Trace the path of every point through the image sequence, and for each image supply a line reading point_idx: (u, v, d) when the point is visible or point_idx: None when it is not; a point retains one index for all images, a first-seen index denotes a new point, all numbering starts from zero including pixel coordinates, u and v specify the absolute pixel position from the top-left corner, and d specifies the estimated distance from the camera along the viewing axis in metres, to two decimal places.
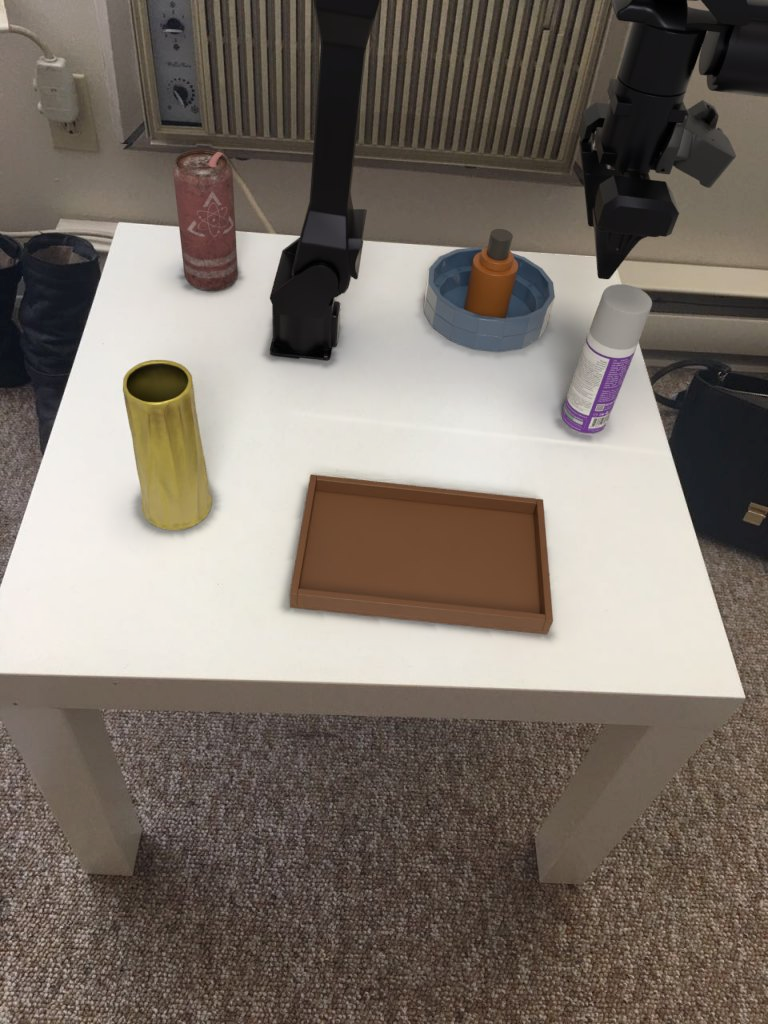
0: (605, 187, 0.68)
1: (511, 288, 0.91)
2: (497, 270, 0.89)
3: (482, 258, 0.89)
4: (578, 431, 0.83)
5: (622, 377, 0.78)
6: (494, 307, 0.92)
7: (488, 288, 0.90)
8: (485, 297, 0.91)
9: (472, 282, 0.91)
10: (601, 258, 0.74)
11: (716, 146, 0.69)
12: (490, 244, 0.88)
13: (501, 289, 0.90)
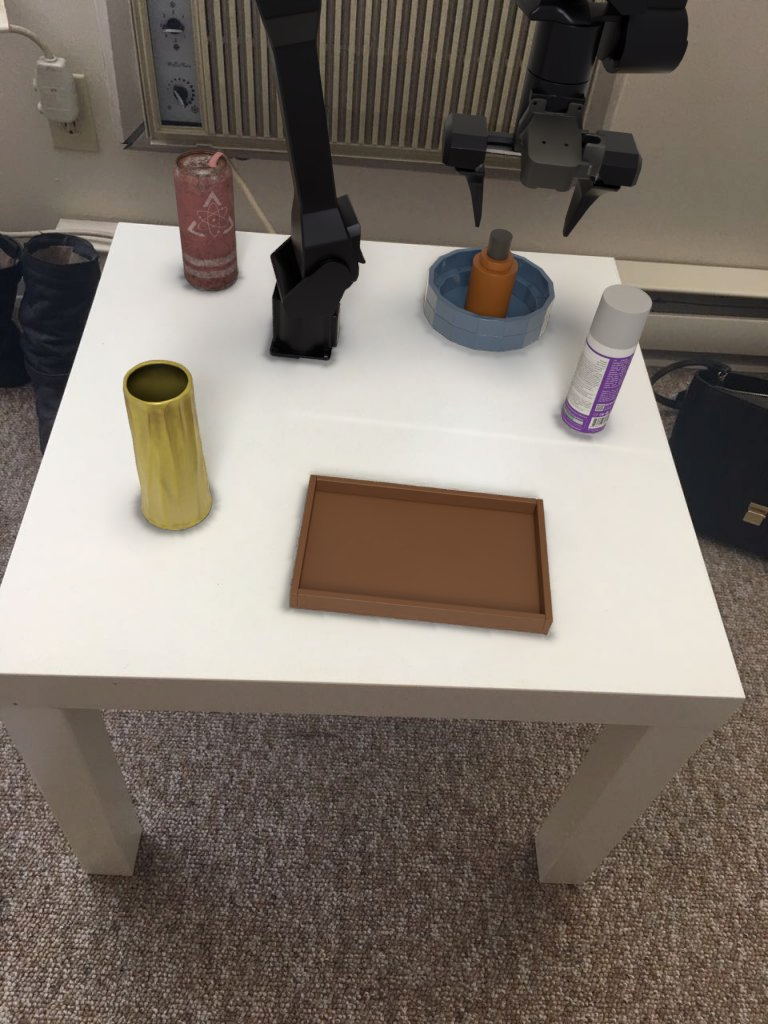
0: None
1: (511, 288, 0.91)
2: (497, 270, 0.89)
3: (482, 258, 0.89)
4: (578, 431, 0.83)
5: (622, 377, 0.78)
6: (494, 307, 0.92)
7: (488, 288, 0.90)
8: (485, 297, 0.91)
9: (472, 282, 0.91)
10: None
11: (531, 141, 0.72)
12: (490, 244, 0.88)
13: (501, 289, 0.90)
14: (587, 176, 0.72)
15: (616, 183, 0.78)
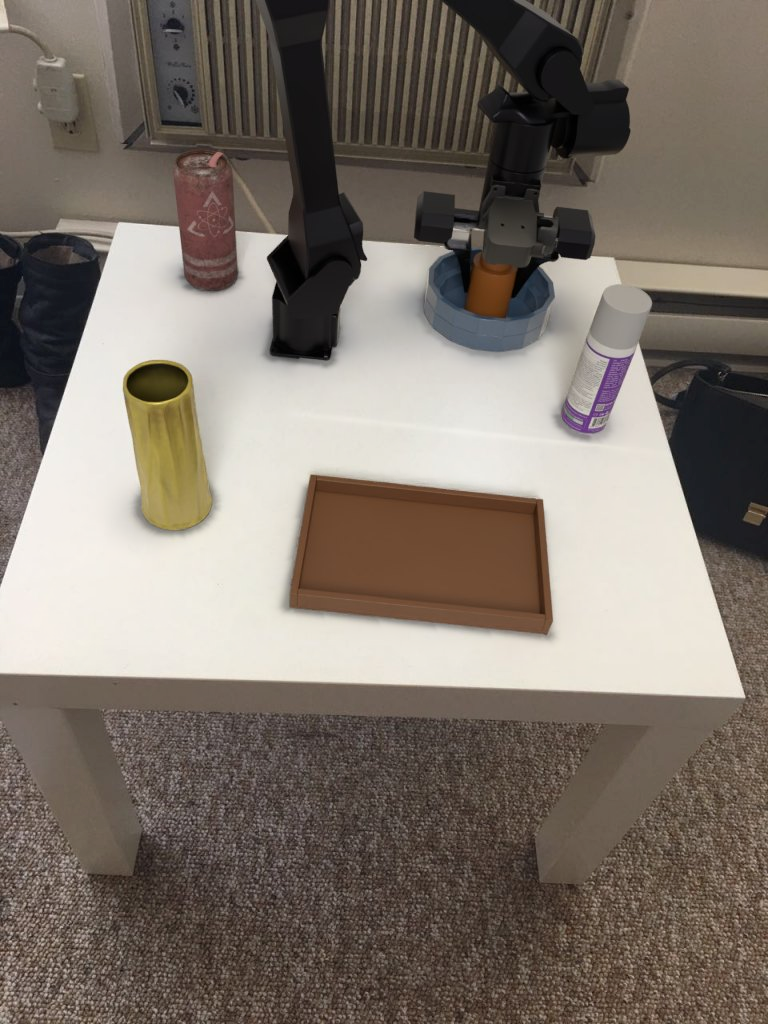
0: None
1: (511, 288, 0.91)
2: (497, 270, 0.89)
3: (482, 258, 0.89)
4: (578, 431, 0.83)
5: (622, 377, 0.78)
6: (495, 307, 0.92)
7: (488, 288, 0.90)
8: (485, 297, 0.91)
9: (472, 282, 0.91)
10: None
11: (491, 224, 0.80)
12: None
13: (501, 289, 0.90)
14: (541, 255, 0.80)
15: (572, 256, 0.86)
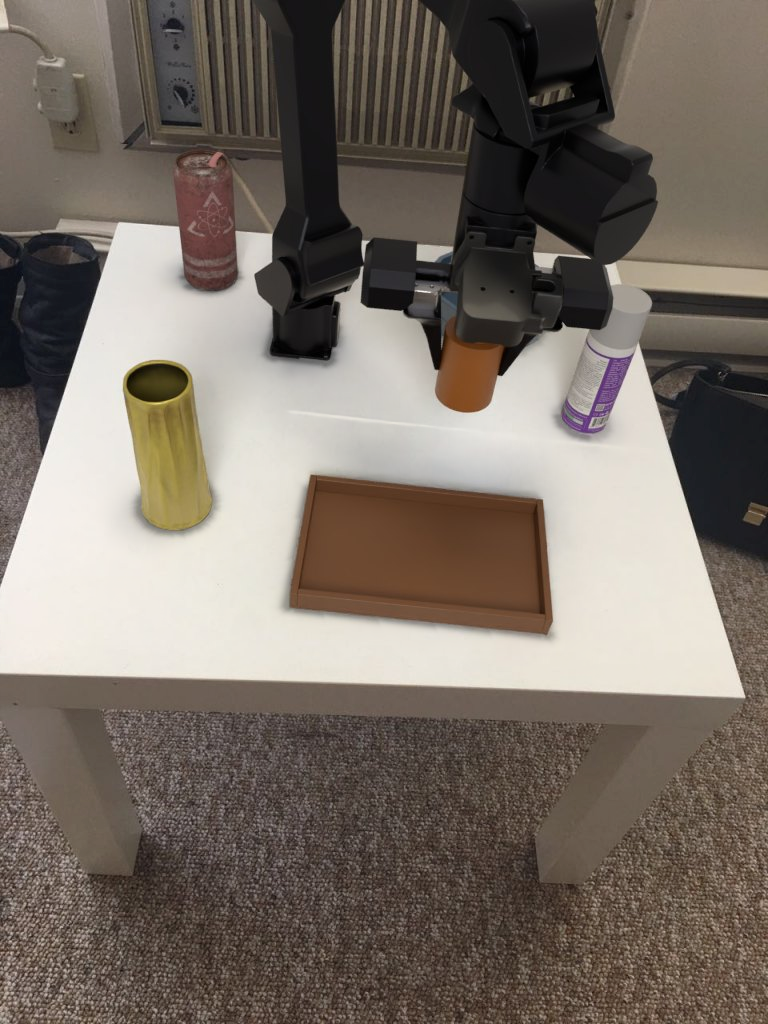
0: None
1: (498, 364, 0.67)
2: (478, 342, 0.65)
3: None
4: (578, 431, 0.83)
5: (622, 377, 0.78)
6: (476, 390, 0.68)
7: (467, 366, 0.66)
8: (462, 378, 0.67)
9: (444, 358, 0.67)
10: None
11: (466, 288, 0.56)
12: None
13: (484, 367, 0.66)
14: (539, 331, 0.56)
15: (581, 326, 0.62)
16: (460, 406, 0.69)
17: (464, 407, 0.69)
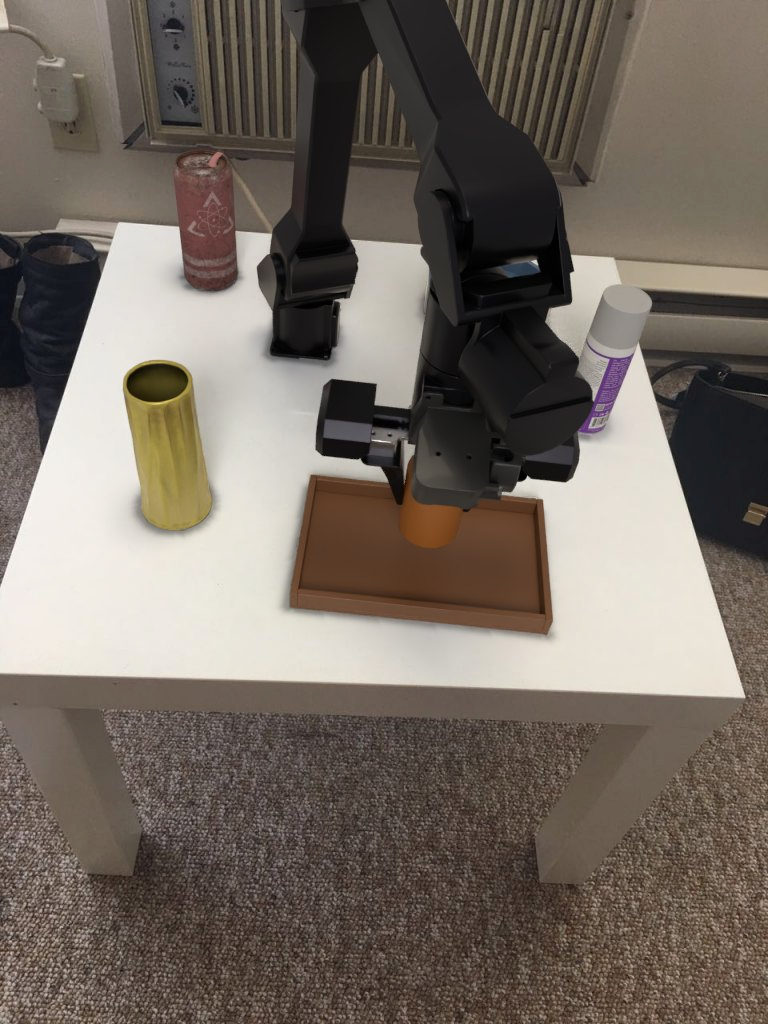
0: None
1: None
2: None
3: None
4: (578, 431, 0.83)
5: (622, 377, 0.78)
6: (439, 529, 0.65)
7: (428, 508, 0.63)
8: (424, 518, 0.64)
9: (406, 496, 0.64)
10: None
11: (421, 453, 0.53)
12: None
13: (447, 509, 0.63)
14: (497, 498, 0.53)
15: (546, 478, 0.59)
16: (423, 542, 0.66)
17: (427, 544, 0.66)
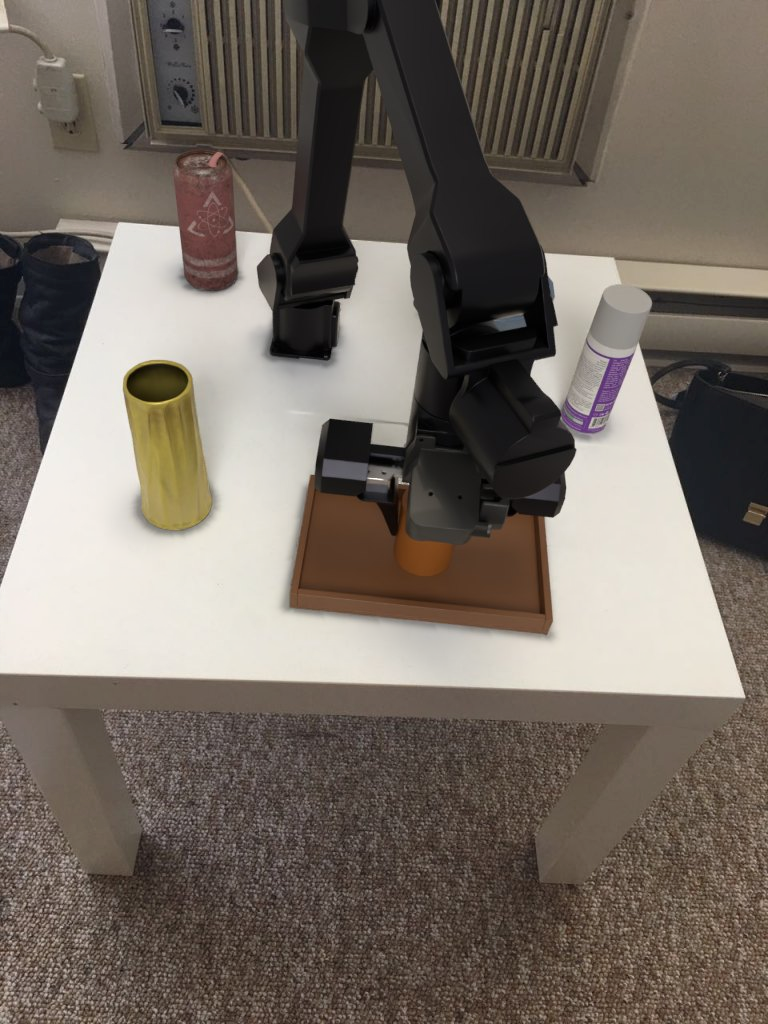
0: None
1: None
2: None
3: None
4: (578, 431, 0.83)
5: (622, 377, 0.78)
6: (433, 559, 0.68)
7: None
8: (419, 548, 0.67)
9: (401, 527, 0.67)
10: None
11: (414, 493, 0.56)
12: None
13: None
14: (487, 536, 0.56)
15: (534, 514, 0.62)
16: (417, 570, 0.69)
17: (421, 572, 0.69)
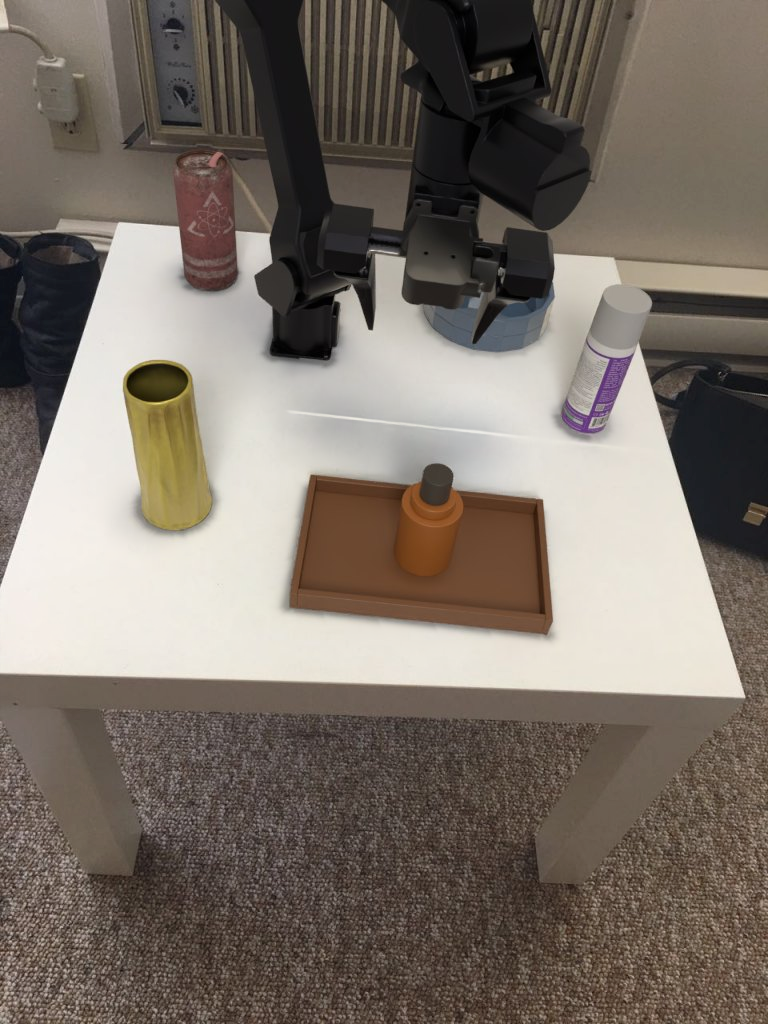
0: None
1: (454, 535, 0.67)
2: (433, 518, 0.65)
3: (413, 501, 0.65)
4: (578, 431, 0.83)
5: (622, 377, 0.78)
6: (433, 559, 0.68)
7: (422, 539, 0.66)
8: (419, 548, 0.67)
9: (401, 527, 0.67)
10: None
11: (410, 252, 0.60)
12: (423, 486, 0.64)
13: (440, 540, 0.66)
14: (478, 295, 0.60)
15: (523, 294, 0.65)
16: (417, 570, 0.69)
17: (421, 572, 0.69)
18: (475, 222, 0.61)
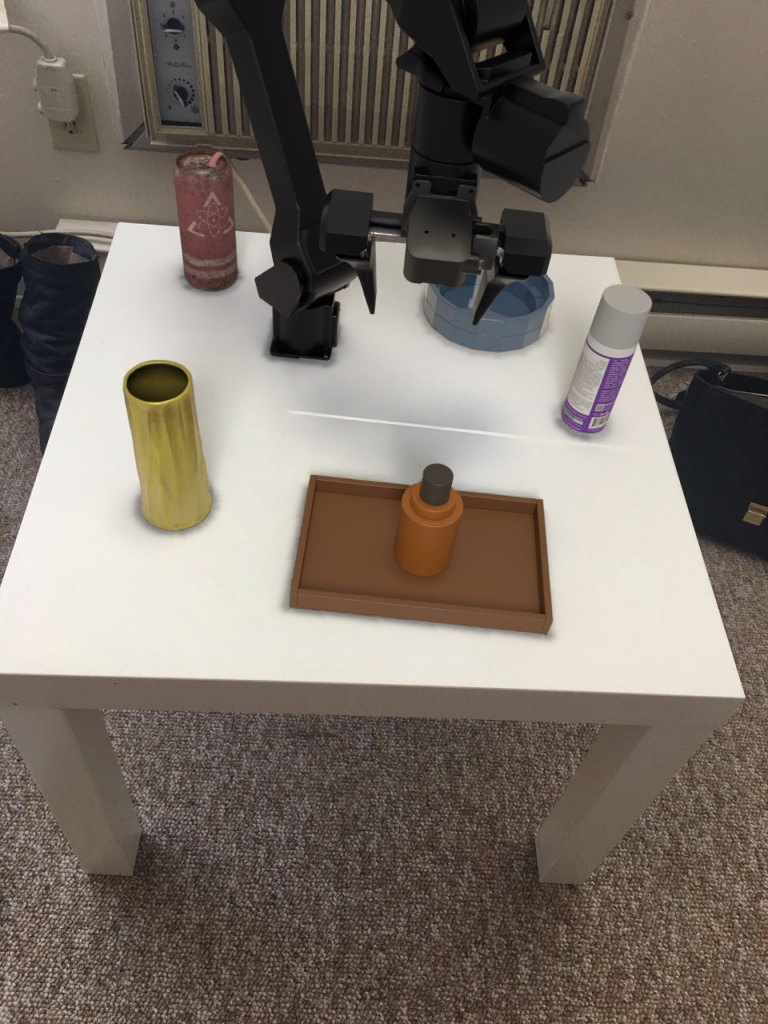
0: None
1: (454, 535, 0.67)
2: (433, 518, 0.65)
3: (413, 501, 0.65)
4: (578, 431, 0.83)
5: (622, 377, 0.78)
6: (433, 559, 0.68)
7: (422, 539, 0.66)
8: (419, 548, 0.67)
9: (401, 527, 0.67)
10: None
11: (411, 231, 0.61)
12: (423, 486, 0.64)
13: (440, 540, 0.66)
14: (478, 272, 0.61)
15: (522, 272, 0.67)
16: (417, 570, 0.69)
17: (421, 572, 0.69)
18: (474, 201, 0.62)
